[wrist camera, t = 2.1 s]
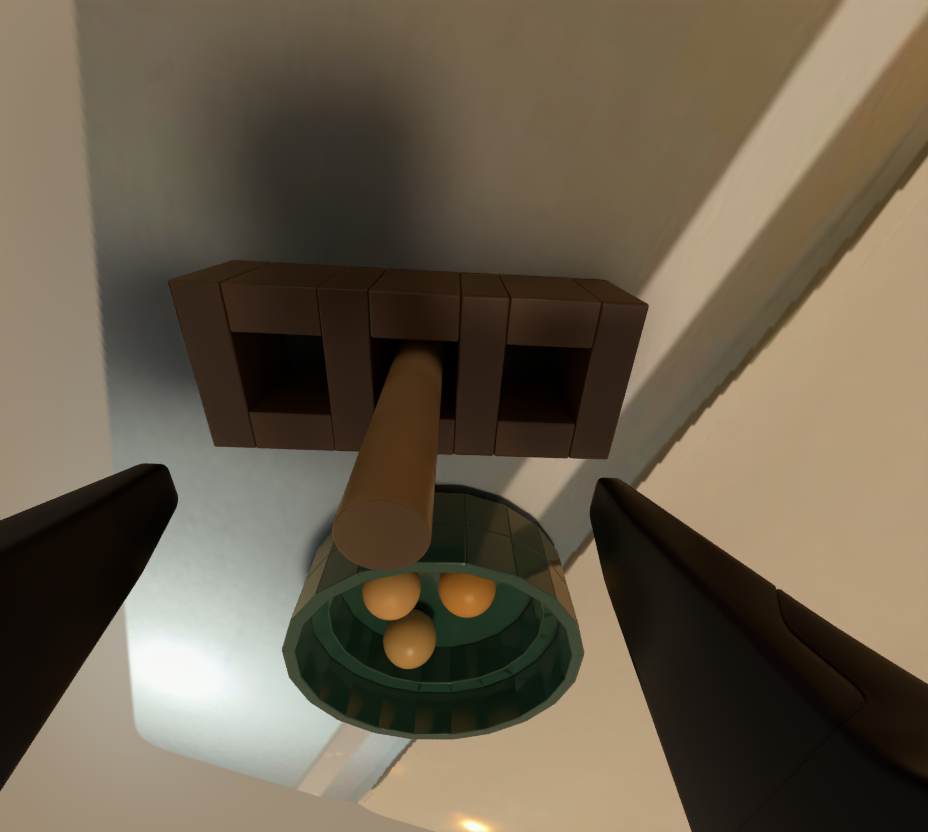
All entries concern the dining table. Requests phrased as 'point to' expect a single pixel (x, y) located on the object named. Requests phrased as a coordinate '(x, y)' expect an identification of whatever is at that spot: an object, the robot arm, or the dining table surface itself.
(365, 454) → the stick
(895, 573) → the dining table surface
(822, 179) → the dining table surface
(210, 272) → the rack
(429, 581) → the bowl
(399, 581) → the bead
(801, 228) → the dining table surface
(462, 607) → the bead
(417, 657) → the bead
